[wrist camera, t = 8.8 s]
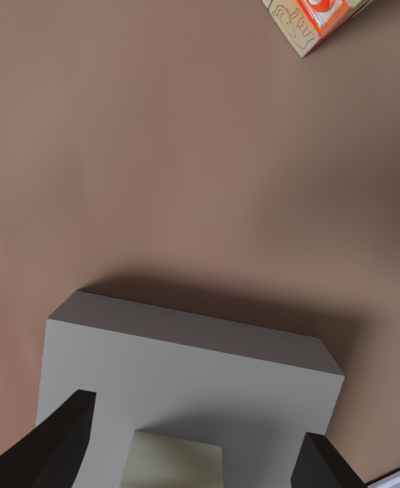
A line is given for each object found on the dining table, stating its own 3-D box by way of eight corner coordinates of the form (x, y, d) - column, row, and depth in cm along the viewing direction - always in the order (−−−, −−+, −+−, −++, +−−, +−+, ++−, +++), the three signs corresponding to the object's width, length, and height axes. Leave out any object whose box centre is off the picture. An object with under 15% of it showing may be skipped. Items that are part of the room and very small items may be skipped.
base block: (320, 338, 22) (345, 376, 18) (260, 525, 25) (270, 590, 21) (76, 290, 21) (46, 318, 17) (51, 488, 25) (22, 548, 21)
